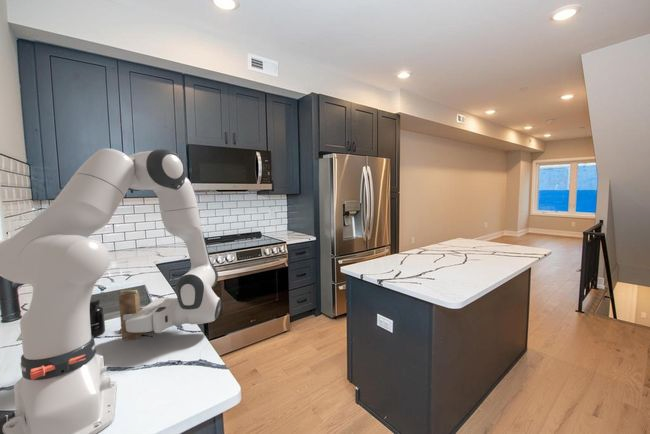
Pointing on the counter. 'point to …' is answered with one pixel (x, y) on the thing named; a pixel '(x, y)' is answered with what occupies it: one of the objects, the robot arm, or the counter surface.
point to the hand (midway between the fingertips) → (127, 314)
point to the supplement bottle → (96, 318)
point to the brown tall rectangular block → (129, 311)
